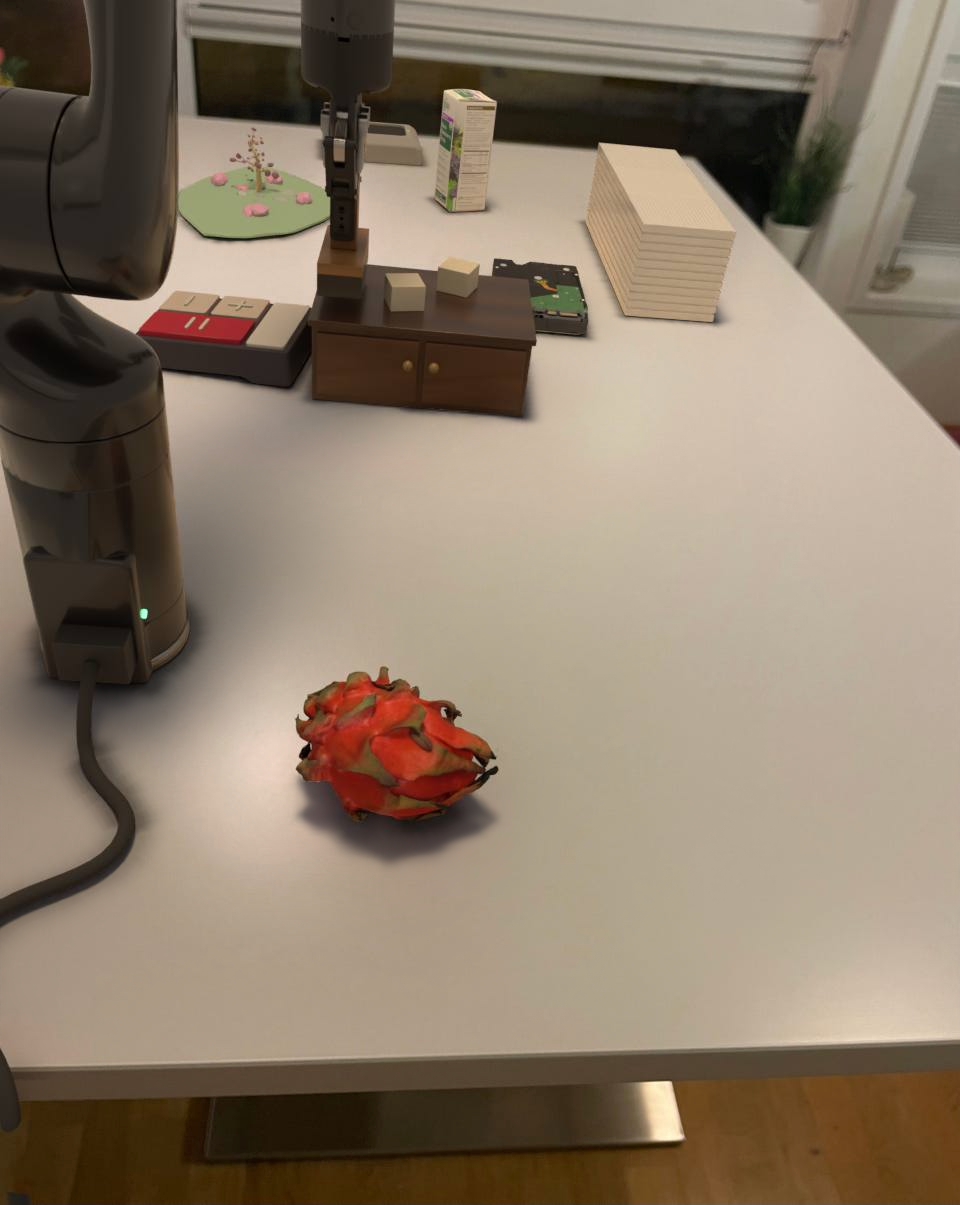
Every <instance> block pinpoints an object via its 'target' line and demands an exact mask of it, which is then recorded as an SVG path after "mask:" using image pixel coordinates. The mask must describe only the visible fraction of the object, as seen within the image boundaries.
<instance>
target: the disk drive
mask: <svg viewBox="0 0 960 1205" xmlns="http://www.w3.org/2000/svg"><path fill="white" fill-rule="evenodd" d="M491 270H492V271H491V276H495V277H505V278H516V279H526V280H528V282H529V289H530V296H531V303H532V311H533V318H534V325H535V332H543V333H555V334H568V335H576V336H577V335H578V336H579V335H581V334H582V335H585V334H587V329H588V325H589V314H588V313H589V312H588V310H589V307H588V303H587V300H586V298H585V293H584V289H583V287H582V282H581V279H580V275H579V274H580V273H579V271H578V268H577V266H576V265H571V264H570V265H569V264H556V263H547V262H539V261H528V262H525V263H523V264H518V263H516V262H514V260H512V259H506V258H498V257H497V258H496V257H495V258H493V262H492V269H491Z"/></svg>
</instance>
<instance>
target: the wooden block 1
mask: <svg viewBox="0 0 960 1205" xmlns="http://www.w3.org/2000/svg"><path fill="white" fill-rule="evenodd" d="M425 292H426V286H425V284H424V283H423V281H422V279H421V278H420V276H419V274H418V273H385V281H384V299H385V301H386V303H387V305H388V307H389V309H390V311H391V312H397V311H424V306H425Z"/></svg>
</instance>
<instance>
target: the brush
mask: <svg viewBox="0 0 960 1205" xmlns="http://www.w3.org/2000/svg"><path fill="white" fill-rule="evenodd" d="M360 176H361V174H360V175H358V177H357V190H358V196H357V199H356V211H355V236H354V239H353V241H351V242H346V241H336V240H333V239H331V237H330V224H327V226H326V229H325V233H324V236H323V240H322V244H321V247H320V251H319V255H318V257H317V261H316V291H317V295H318V296H329V297H340V298H351V299H361V298H362V292H363V286H364V281H365V275H366V269H367V264H369V263H368V262H369V253H370V252H369V250H370V249H369V248H370V228H368V227H367V228H364V227H360V225H359V224H360V195H361V194H360V191H361V182H360ZM335 182H341V183H349V181H348V180H347V179H342V178H335Z"/></svg>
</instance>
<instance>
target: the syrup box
mask: <svg viewBox="0 0 960 1205" xmlns="http://www.w3.org/2000/svg"><path fill="white" fill-rule="evenodd" d="M497 105H498V101H497V100H495V99H492V98H490V97H488V96H487V95H485V94H484V93H482V92H481V91H480V90H474V89H469V88H468V89H467V88H452V89H444V90H443V99H442V108H441V119H440V131H439V142H438V152H437V162H436V175H435V186H434V187H435V188H434V201H437V202H438V203H439V204H440V205H441V206H443V208H445V209H446V210H447V211H448V212H449V213H452V212H454V213H455V212H456V213H457V212H474V211H475V212H476V211H485V209H486V202H487V191H488V184H489V175H490V166H491V157H492V150H493V149H492V148H493V140H494V132H495V122H496V115H497Z"/></svg>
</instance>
